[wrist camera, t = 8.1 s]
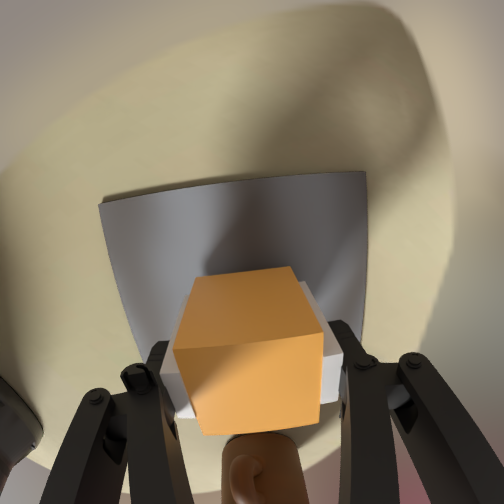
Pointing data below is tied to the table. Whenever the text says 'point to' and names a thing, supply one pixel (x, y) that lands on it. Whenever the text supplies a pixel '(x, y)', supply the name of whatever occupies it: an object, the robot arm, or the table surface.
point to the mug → (262, 471)
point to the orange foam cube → (250, 352)
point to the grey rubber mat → (238, 244)
